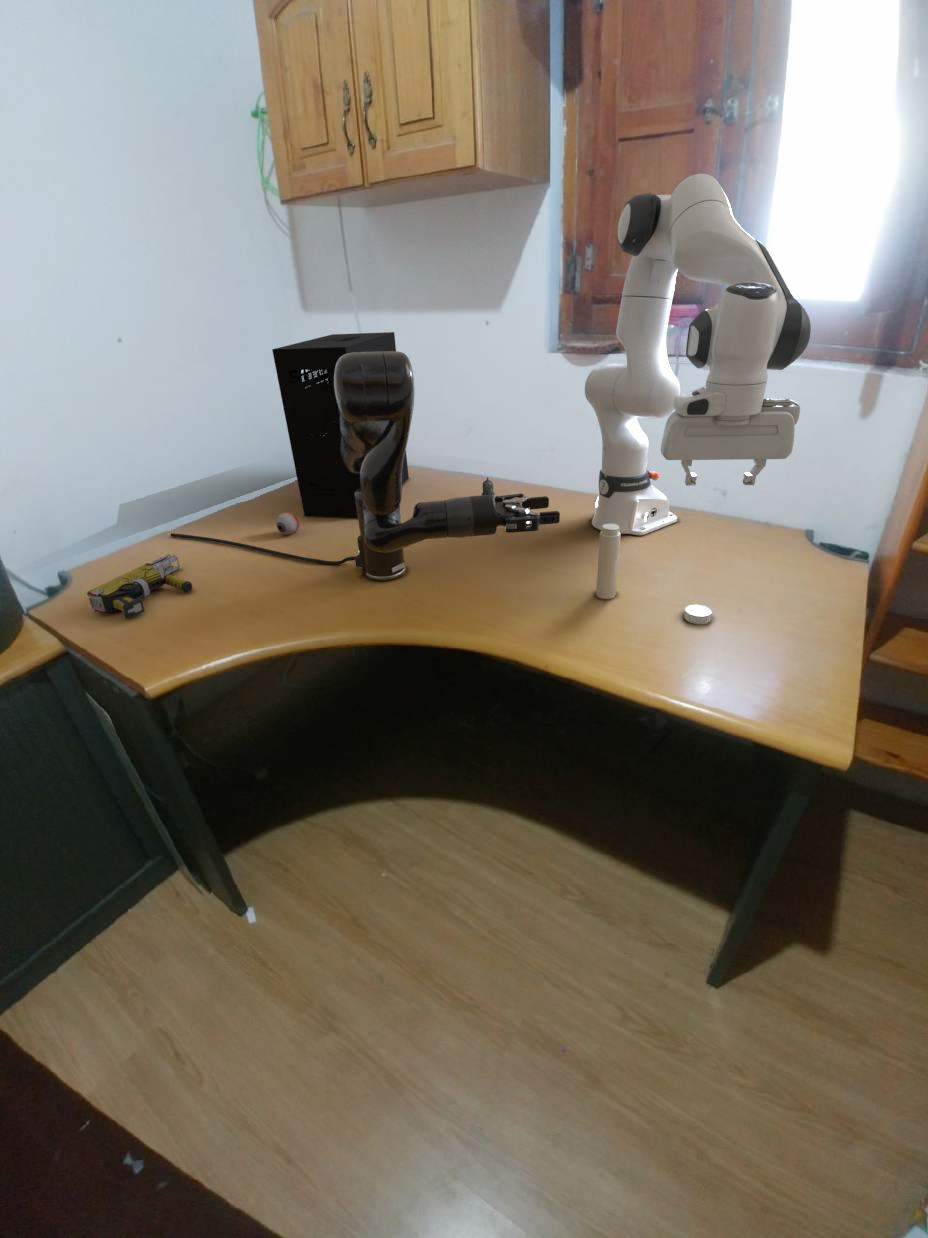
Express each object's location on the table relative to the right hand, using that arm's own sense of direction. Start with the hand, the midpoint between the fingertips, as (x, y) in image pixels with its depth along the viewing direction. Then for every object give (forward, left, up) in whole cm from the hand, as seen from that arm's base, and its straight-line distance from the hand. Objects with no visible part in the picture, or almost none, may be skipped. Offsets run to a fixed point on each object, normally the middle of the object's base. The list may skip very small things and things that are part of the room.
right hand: (719, 484), depth 103 cm
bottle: (+9, -16, -26) cm, 32 cm away
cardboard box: (+36, -109, -26) cm, 118 cm away
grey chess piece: (+11, -68, -26) cm, 74 cm away
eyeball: (+62, -88, -26) cm, 111 cm away
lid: (0, 0, -25) cm, 25 cm away
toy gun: (+96, -67, -26) cm, 120 cm away
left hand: (+20, -20, -6) cm, 29 cm away
